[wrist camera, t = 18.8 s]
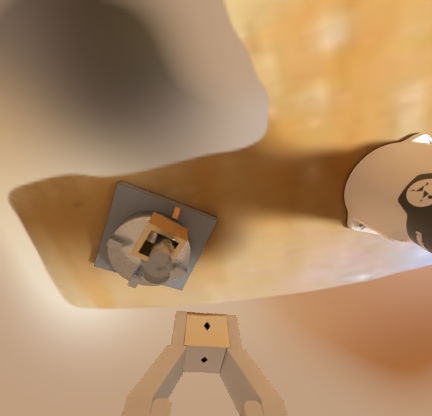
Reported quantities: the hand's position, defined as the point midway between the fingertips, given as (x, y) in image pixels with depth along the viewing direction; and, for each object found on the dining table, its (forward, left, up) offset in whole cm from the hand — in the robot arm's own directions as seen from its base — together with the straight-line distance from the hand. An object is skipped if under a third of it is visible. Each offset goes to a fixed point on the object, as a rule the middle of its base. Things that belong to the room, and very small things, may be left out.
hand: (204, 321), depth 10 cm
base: (+3, +14, -25) cm, 29 cm away
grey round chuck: (+3, +13, -24) cm, 27 cm away
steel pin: (+2, +9, -21) cm, 22 cm away
